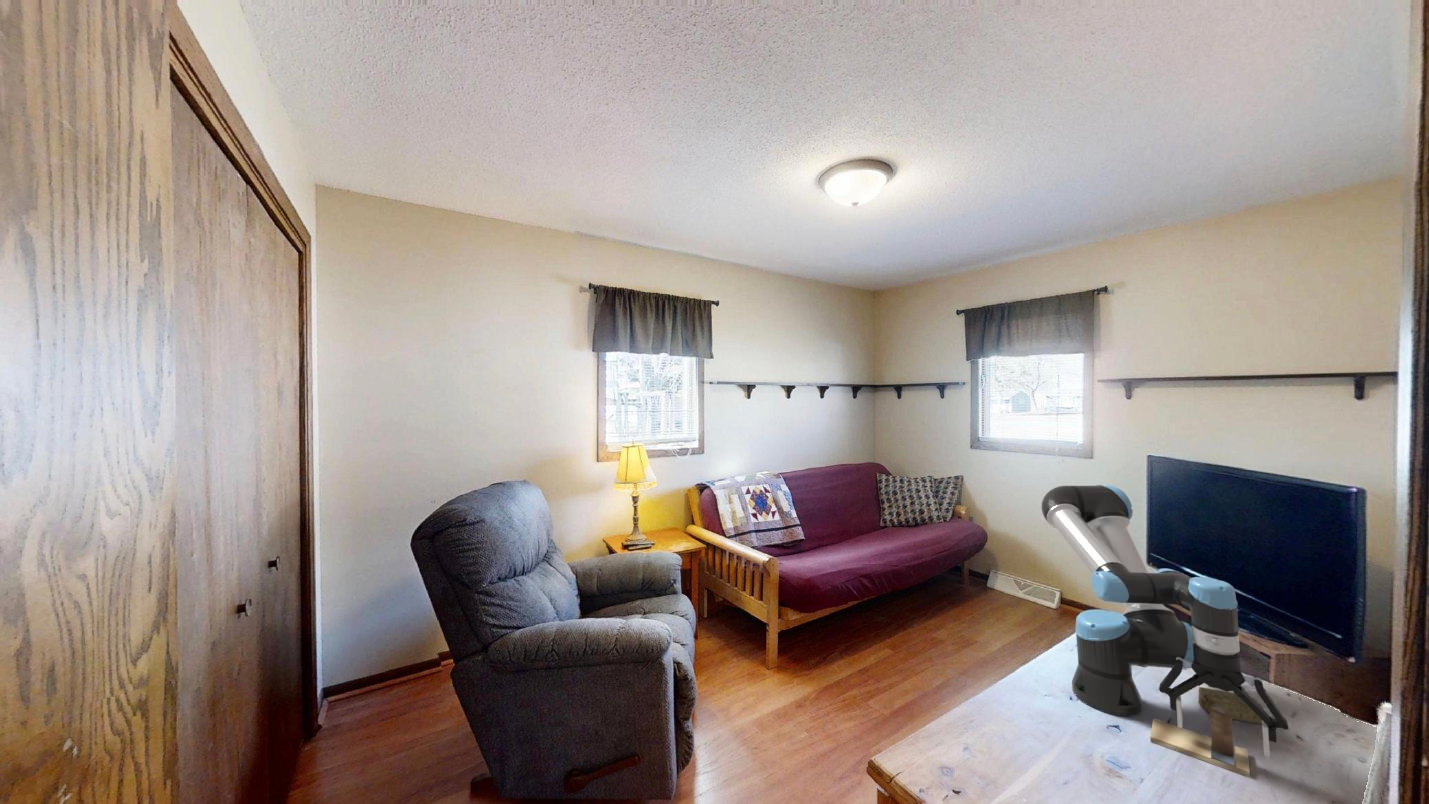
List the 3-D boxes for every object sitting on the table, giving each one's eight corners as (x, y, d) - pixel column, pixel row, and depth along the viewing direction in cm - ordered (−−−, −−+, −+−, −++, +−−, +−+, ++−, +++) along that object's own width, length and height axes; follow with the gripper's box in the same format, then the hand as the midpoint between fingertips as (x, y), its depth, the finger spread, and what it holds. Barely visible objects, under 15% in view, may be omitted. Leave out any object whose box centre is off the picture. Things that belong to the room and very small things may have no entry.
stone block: (1268, 727, 116) (1266, 707, 116) (1205, 715, 122) (1203, 696, 122) (1255, 713, 121) (1253, 694, 121) (1195, 702, 127) (1194, 684, 127)
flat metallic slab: (1150, 741, 113) (1150, 735, 113) (1160, 681, 136) (1160, 676, 136) (1250, 777, 102) (1249, 770, 102) (1242, 705, 124) (1242, 699, 124)
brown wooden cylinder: (1212, 751, 108) (1209, 709, 108) (1212, 743, 110) (1209, 702, 110) (1234, 758, 105) (1231, 715, 105) (1233, 750, 107) (1230, 708, 108)
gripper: (1141, 635, 115) (1147, 721, 114) (1303, 675, 96) (1310, 777, 96) (1144, 625, 120) (1149, 707, 119) (1299, 660, 101) (1305, 757, 101)
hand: (1221, 738), depth 108 cm, fingers open, 13 cm apart
